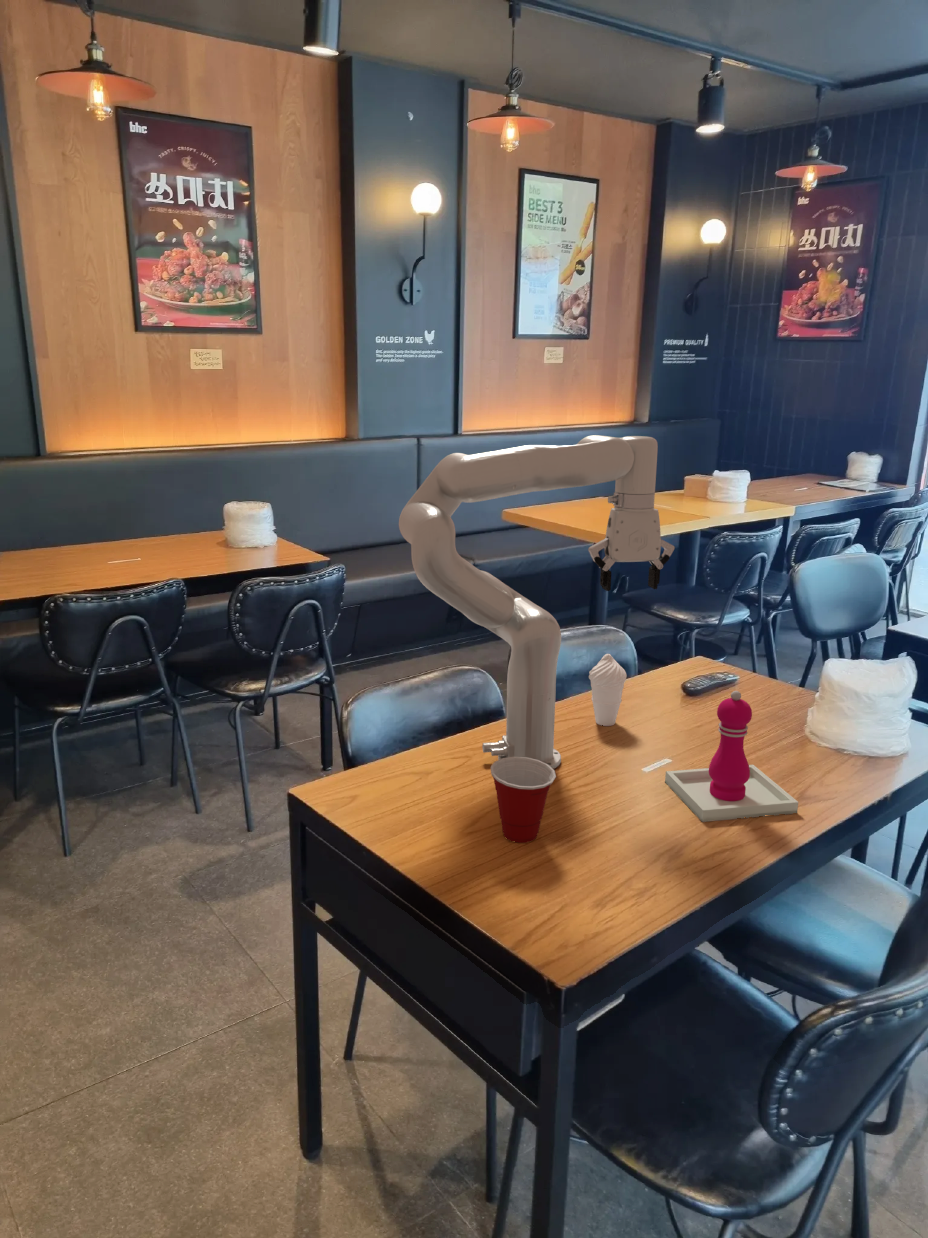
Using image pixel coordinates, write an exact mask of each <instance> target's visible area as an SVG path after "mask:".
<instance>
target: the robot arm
mask: <svg viewBox="0 0 928 1238" xmlns="http://www.w3.org/2000/svg"><path fill="white" fill-rule="evenodd" d="M658 445H659V444H658V441H657V439H655V438H654V437H652V436H646V435H645V436H644V435H643V436H641V435H631V436H630V435H627V436H623V437H616V436H615V437H614V436H609V435H608V436H607V435H598V434H594V435H593V434H592V435H588V436H585V437H584V438H582V439H581V440H579V441H578V442H577V443H576V444H573V445H545V444H528V445H521V446H516V447H509V448H504V449H498V450H493V451H485V452H480V453H473V454H465V453H462V452H453V453H451V454H448V455H445V457H444V458H442V459H441V460H440V461H439V462H438V463H437V464H436V465H435V467H434V468H433V469H432V471H431V472H430V473H429V475H428V476H427V477H426V478H425V479H424V481H423V482H422V483H421V485H420V486H419V487H418V489H416V491H415V493H413V495H412V496H411V497H410V498H409V500H407V503H406V504H405V505H404V507H403V508H402V510H401V512H400V515H399V519H398V529H399V532H400V534H401V536H402V537H403V539H404V540H405V541H406V542H407V543H409V544H410V547H411V548H410V549H411V563H412V567H413V570H414V573H415V575H416V577H417V579H418V581H419V582H420V583H421V584H422V585H423V586H424V587H425V588H426V589H427V590H428V591H430V592H431V593H432V594H434V595H435V596H436V597H438V598H440V599H441V600H443V601H444V602H445V603H446V604H448V605H449V606H451V607H453V609H456V610H457V611H458V612H460V613H461V614H462V615H464V616H465V617H466V618H467V619H468V620H470V621H471V622H472V623H474V624H476V625H479V626H481V627H484V628H486V629H487V630H489V631H490V632H492V633H493V634H494V635H496V636H498V637H500V638H501V639H502V640H503V641H505V642H506V643H507V644H509V646H510V647H511V652H510V657H509V662H508V668H507V676H506V678H507V679H506V680H507V681H506V723H505V724H506V731H505V732H506V734H505V735H502V737H501V738H502V739H501V740H497V742H492V741H491V742H482V746H481V747H482V753H484V754H485V753H490V754H491V757H496V756H497V758H498V759H497V761H498V760H500V759H502V758H508V757H527V758H531V759H536V760H539V761H541V762H543V763H546V764H548V765H549V766H550V767H551V768H552V769H553V770H555V769H556V768H557V767H559V766H560V765H561V762H562V756H561V753H560V752H559V751H558V750H557V749H555V748H554V744H555V742H554V741H555V719H556V718H555V717H556V716H555V715H556V692H557V691H556V683H557V670H558V667H557V666H558V661H559V655H560V650H561V645H562V631H561V627H560V625H559V623H558V621H557V619H556V618H555V617H554V616H553V615H552V614H551V613H550V612H549V611H547V610H546V609H544V608H543V607H541V606H539V605H537V604H536V603H534V602H533V601H531V600H530V599H528V598H527V597H525V596H523V595H522V594H520V593H519V592H518V591H516V590H514V589H513V588H512V587H510V586H509V585H507V584H506V583H504V582H502V580H500V579H499V578H497V577H495V576H494V575H492V574H491V573H490V572H488V571H485V570H480V569H479V568H477V567H476V566H474V565H473V563H470V562H469V561H468V560H466V559H465V558H464V557H462V556H461V555H460V554H459V553H458V551H457V549H456V547H457V546H456V527H455V523H454V521H453V519H452V516H453V515H454V513H455V511H457V509H458V508H459V507H460V505H461V504H462V503H466V504H467V503H468V504H469V503H478V502H484V501H488V500H489V501H490V500H494V499H499V498H505V497H510V496H516V495H517V496H518V495H520V494H526V493H532V492H546V491H553V490H560V489H569V488H577V487H585V486H586V487H587V486H592V485H597V484H603V483H608V482H613V481H615V486H614V487H615V488H614V491H613V495H611V496H610V495H609V496H608V497H607V503H608V504H612V505H613V507H612V508H611V509H610V512H609V516H608V520H607V525H606V531H605V532H606V533H605V538H604V539H602V540H600V541H598V542H597V543H595V544H592V545H591V546H589V547H588V550H587V551H588V553H589V555H590V557H591V559H592V561H593V562H594V563H595V564H596V565H597V567H598V568H599V569H600V577H599V580H600V581H599V583H600V584H599V585H600V586H601V588H602V589H603V590H604V591H605V592H610V591H611V589H612V571H611V570H610V569H611V567H612V566H613V565H614V564H615V563H635V562H637V563H638V562H641V563H642V562H649V564H651V565H650V566H649V567H648V580H647V581H648V582H647V586H648V587H649V588H651V589H653V590H658V585H659V584H660V578H661V576H660V575H661V570H662V569H663V568H664V565H666V563H668V561H669V560H670V557H671V556H672V554H673V552H674V550H675V548H676V547H675V546H674V545H673V544H671V543H670V542H668V541H665V540H664V539H662V537H661V520H660V514H659V513H660V512H659V509H658V508H655V497H656V496H655V495H656V482H657V481H656V478H657V467H658V466H657V465H658V463H657V462H658V449H659V448H658ZM662 548H663V549H664V550H663V553H662V554H661V549H662ZM603 549H604V557H603V559H602V558H601V557H600V554H599V552H600V551H602V550H603Z"/></svg>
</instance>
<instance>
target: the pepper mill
mask: <svg viewBox="0 0 928 1238" xmlns="http://www.w3.org/2000/svg"><path fill="white" fill-rule="evenodd" d="M730 693H731V694H730V698H729V697H728V698H726V699H724V700H722V701H721V702H720V703H719V705H717V706H718V707H717V710H716V715H717V718H718V720H719V721H720V722H719V723H718V729H717V730H718V733H720V741H719V745H718V748H717V750H715V751H716V752H715V753H714V754H713V757H712V758H711V760H710V762H709V766H708V768H709V775H710V777H711V778H712V781H711V783H710V793H711V795H712V796H714V797H716V798H718V799H720V800H724V801H739V800H742V799H743V798H744V797H745V791H746V787H745V785H744V784H745V783H746V782H747V781H748V780H749V777H750V768H749V765H750V764H749V762H748V759H747V757H746V754H745V750H744V741H745V736H747V734H748V729H749V727H748V724H749V723H750V722H751V720H752V718H753V710H752V707H751V705H750V704H749V703H748V702H747V701H745V700H744V699H741V698H742V694H741V692H740V691H738V690H733V691H732V692H730Z"/></svg>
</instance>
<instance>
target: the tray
mask: <svg viewBox="0 0 928 1238" xmlns="http://www.w3.org/2000/svg"><path fill="white" fill-rule="evenodd" d="M749 768H750V777H749V780H748V781H747V782H746V783H745V784H744V785H745V787H746V791H745V797H744V798H743V799H742V800H739V801H724V800H720V799H718V798H716V797H714V796H712V795H711V793H710V783H711V781H712V778H711V777H710V775H709V767H708V768H707V767H706V768H705V767H704V768H693V769H692V768H691V769H678V770H668V771H665V777H664V778H665V780H664V783H665V784H666V785H667V786H668V787H669V788H670V789H671V790H672V791H673V792H674V793H675V795H676V796H677V797H678V798H679V799H680V800H681V801H682V803H684V805H686V806H687V807H688V809H690V811H691V812H692V813H693V814H694V815H695V816H696V817H697V818H698V819H699V821H701V822H702V823H705V822H706V823H707V822H716V821H726V820H727V821H728V820H738V819H737V818H741V819H750V818H749V817H752V818H759V816H763V817H766V816H765V815H774V816H780V815H779V814H785V815H794V814H793V813H797V814H798V810H799V809H798V808H799V801H798V800H797V799H795V798H794V797H793V796H792V795H791V794H790V793H788V792H787V791H786V790H785V789H783V788H782V787H781V786H780V785H779V784H777V783H776V782H775V781H774V780H773V779H771V778H770V777H769V776H768V775H767V774H765V773H764V772H763V771H762V770H761V769H759V768H758V767H757V766H756V765H754V764H749ZM744 817H746V818H744Z"/></svg>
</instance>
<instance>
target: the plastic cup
mask: <svg viewBox="0 0 928 1238" xmlns="http://www.w3.org/2000/svg"><path fill="white" fill-rule="evenodd" d="M490 773H491V777H492V778H493V783H494V787H495V791H496V797H497V804H498V813H499V818H500V819H499V820H500V823H501V829H502V833H503V837H504V838H505V837H506V838H507V839H506V838H505V839H506V840H507V841H510V842H512V841H515V842H514V843H517V842H518V843H517V844H520V843H521V844H524V843H525V844H527V843H529V842H530V841H531V842H533V841H535V840H536V839H537V837H538V834H539V830H540V826H541V822H542V819H543V816H544V815H543V814H544V810H545V807H546V803H547V798H548V794H549V792H550V791H549V790H550V788H551V785H552V784H553V782H554V780H555V779H556V778H557V775H556V771H555V769H552V768H551V767H550V766H549V765H548V764H546V763H543V762H541V761H539V760H536V759H531V758H527V757H508V758H502V759H500V760H498V759H497V760H496V761H493V763H492V764H491V766H490ZM531 842H530V843H531Z"/></svg>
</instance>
